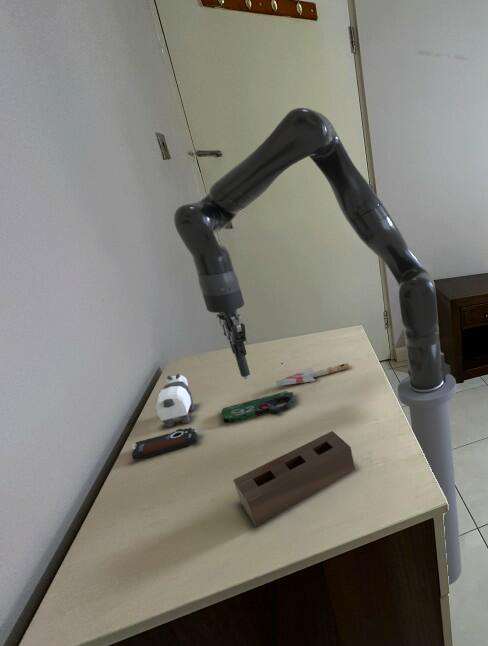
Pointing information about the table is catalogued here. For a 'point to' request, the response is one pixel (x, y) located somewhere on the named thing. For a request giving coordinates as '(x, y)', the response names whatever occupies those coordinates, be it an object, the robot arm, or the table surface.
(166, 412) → the giant panda
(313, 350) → the table surface
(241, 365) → the stylus
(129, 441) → the table surface
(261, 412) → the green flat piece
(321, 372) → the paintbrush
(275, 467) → the pen stand
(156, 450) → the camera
